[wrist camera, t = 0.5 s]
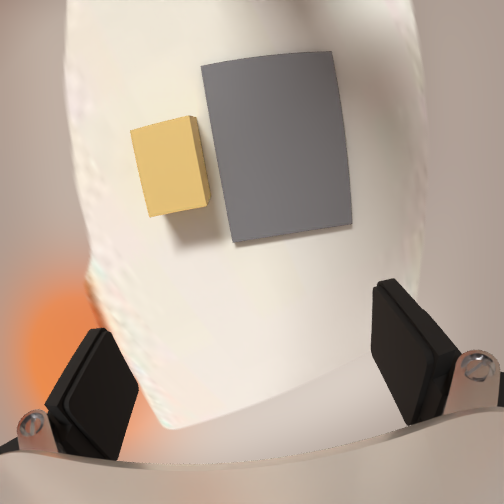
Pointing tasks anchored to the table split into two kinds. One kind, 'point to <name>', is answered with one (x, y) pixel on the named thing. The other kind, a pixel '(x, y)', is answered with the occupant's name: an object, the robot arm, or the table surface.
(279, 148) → the mat
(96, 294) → the table surface
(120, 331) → the table surface
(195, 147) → the box
